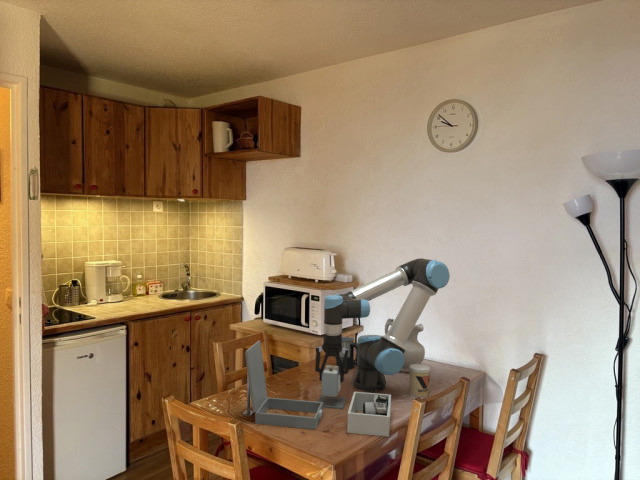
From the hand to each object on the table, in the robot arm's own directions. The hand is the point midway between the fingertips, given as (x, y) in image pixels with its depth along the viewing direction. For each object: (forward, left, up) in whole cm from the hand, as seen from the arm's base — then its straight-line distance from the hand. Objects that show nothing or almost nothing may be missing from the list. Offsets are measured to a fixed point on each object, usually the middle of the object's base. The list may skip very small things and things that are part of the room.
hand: (331, 389), depth 195 cm
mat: (0, 0, -6) cm, 6 cm away
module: (0, 0, -1) cm, 1 cm away
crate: (-17, +15, -6) cm, 23 cm away
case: (+13, +18, -6) cm, 23 cm away
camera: (-19, +14, -6) cm, 24 cm away
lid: (+26, +18, +10) cm, 33 cm away
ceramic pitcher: (-29, -54, -6) cm, 62 cm away
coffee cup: (-36, -19, -6) cm, 41 cm away
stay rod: (+29, +18, -6) cm, 35 cm away
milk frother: (-2, -52, -6) cm, 52 cm away
